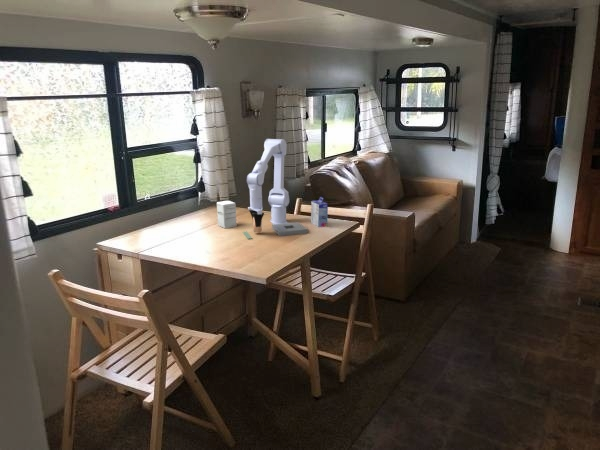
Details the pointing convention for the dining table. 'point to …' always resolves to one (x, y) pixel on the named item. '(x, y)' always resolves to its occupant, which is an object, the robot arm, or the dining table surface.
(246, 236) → the mat
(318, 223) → the ink cartridge box
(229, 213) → the supplement box
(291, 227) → the grey socket board
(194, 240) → the dining table surface
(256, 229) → the plug
